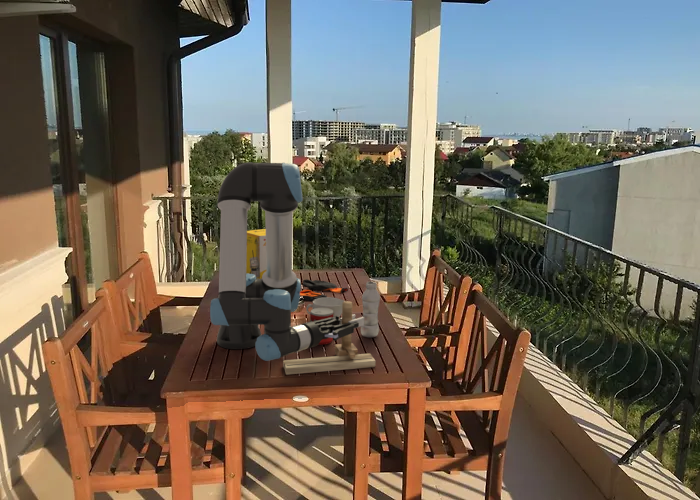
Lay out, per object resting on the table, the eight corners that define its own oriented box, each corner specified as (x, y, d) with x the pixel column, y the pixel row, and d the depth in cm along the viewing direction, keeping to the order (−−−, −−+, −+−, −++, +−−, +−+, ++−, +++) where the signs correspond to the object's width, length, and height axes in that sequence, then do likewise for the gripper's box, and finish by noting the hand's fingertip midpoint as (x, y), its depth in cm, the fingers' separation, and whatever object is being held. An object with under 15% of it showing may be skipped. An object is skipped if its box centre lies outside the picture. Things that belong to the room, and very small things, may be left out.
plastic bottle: (356, 336, 192) (358, 282, 188) (369, 331, 197) (371, 279, 193) (369, 341, 188) (371, 286, 184) (382, 336, 193) (384, 283, 189)
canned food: (307, 338, 189) (307, 308, 187) (328, 336, 192) (329, 306, 190) (313, 346, 182) (314, 315, 180) (335, 343, 185) (336, 313, 183)
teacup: (342, 315, 215) (343, 296, 214) (346, 325, 203) (346, 305, 202) (305, 315, 213) (305, 296, 212) (306, 326, 201) (307, 306, 200)
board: (283, 366, 165) (283, 360, 164) (369, 359, 172) (370, 353, 172) (286, 374, 159) (286, 368, 159) (375, 366, 166) (375, 360, 166)
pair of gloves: (317, 304, 230) (317, 297, 230) (273, 295, 243) (273, 288, 242) (350, 290, 253) (351, 283, 253) (309, 282, 266) (309, 276, 265)
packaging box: (260, 288, 252) (259, 236, 247) (242, 281, 264) (241, 231, 259) (288, 282, 263) (288, 232, 258) (269, 276, 275) (269, 228, 270)
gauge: (335, 353, 175) (336, 300, 172) (352, 351, 177) (354, 299, 173) (343, 366, 165) (344, 310, 162) (361, 364, 167) (363, 309, 163)
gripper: (287, 340, 165) (341, 324, 181) (321, 356, 154) (376, 337, 170) (287, 317, 164) (341, 303, 180) (322, 331, 152) (377, 314, 169)
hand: (358, 319), depth 175 cm, fingers closed on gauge, 3 cm apart
